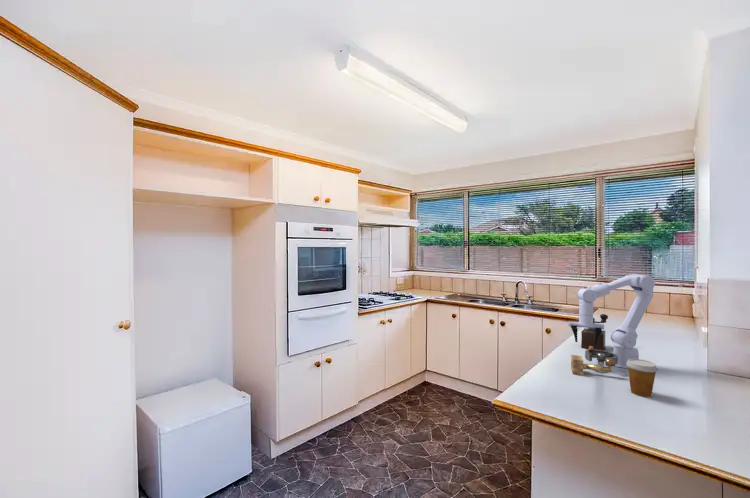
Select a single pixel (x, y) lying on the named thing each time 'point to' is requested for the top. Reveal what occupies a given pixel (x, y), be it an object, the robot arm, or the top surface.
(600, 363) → the axle post
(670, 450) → the top surface
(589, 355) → the locking wheel
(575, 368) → the block
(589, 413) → the top surface
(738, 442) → the top surface
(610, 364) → the brass bar with knob
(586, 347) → the coffee grinder
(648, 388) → the disposable coffee cup
